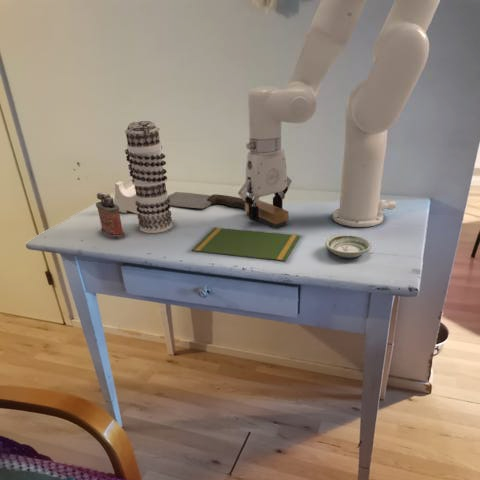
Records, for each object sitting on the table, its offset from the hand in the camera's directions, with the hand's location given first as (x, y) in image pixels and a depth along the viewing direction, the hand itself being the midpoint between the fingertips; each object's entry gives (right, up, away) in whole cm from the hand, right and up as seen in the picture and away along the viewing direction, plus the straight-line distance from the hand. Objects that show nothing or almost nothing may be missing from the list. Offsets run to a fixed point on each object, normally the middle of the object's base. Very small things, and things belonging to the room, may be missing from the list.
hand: (265, 216), depth 117 cm
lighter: (-39, -5, -3) cm, 39 cm away
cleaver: (-16, +6, +13) cm, 22 cm away
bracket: (-36, +6, +15) cm, 40 cm away
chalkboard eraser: (0, -1, +1) cm, 1 cm away
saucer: (+17, -13, -19) cm, 28 cm away
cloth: (-5, -9, -12) cm, 16 cm away
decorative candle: (-28, -3, 0) cm, 29 cm away
